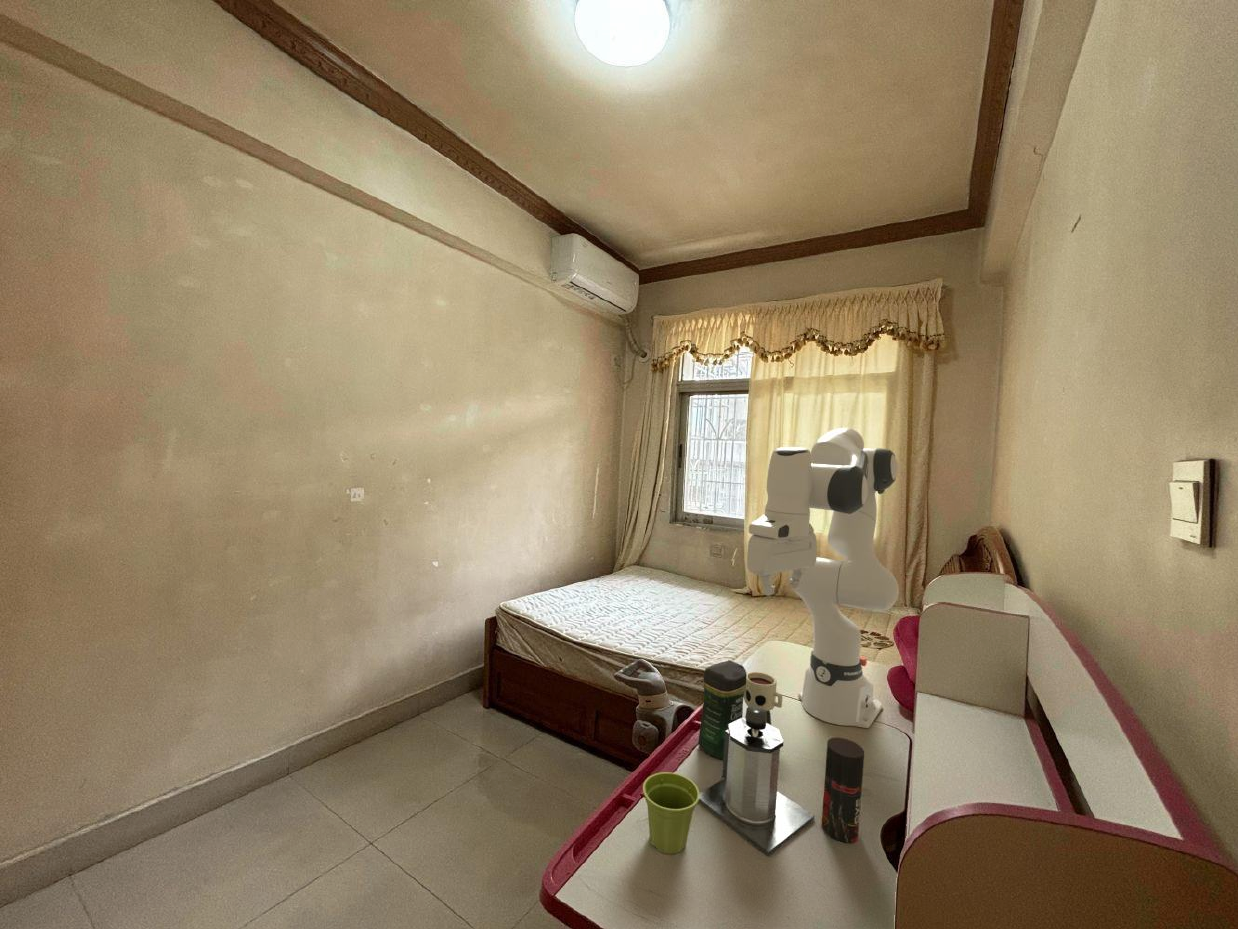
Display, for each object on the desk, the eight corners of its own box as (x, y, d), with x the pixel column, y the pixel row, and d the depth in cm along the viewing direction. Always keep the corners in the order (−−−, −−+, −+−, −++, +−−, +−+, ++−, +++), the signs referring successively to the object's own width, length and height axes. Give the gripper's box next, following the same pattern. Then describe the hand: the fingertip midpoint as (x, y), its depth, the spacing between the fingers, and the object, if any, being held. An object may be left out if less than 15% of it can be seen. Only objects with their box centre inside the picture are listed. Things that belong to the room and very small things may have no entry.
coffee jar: (721, 765, 105) (727, 678, 104) (692, 747, 111) (697, 664, 110) (748, 748, 112) (753, 666, 111) (719, 732, 117) (724, 653, 117)
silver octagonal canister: (741, 772, 103) (746, 701, 103) (813, 820, 91) (819, 740, 90) (695, 799, 94) (699, 722, 94) (768, 856, 82) (774, 768, 81)
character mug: (728, 728, 119) (732, 674, 118) (743, 717, 124) (747, 666, 124) (772, 749, 112) (776, 692, 111) (785, 736, 117) (789, 681, 116)
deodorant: (855, 849, 84) (862, 762, 84) (818, 833, 88) (824, 749, 87) (860, 827, 89) (866, 745, 89) (824, 813, 93) (830, 733, 92)
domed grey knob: (749, 775, 94) (754, 704, 94) (766, 786, 91) (771, 713, 91) (737, 783, 92) (742, 709, 91) (754, 794, 89) (759, 719, 89)
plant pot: (639, 817, 89) (642, 769, 89) (693, 821, 89) (695, 773, 88) (640, 860, 80) (643, 807, 79) (699, 865, 79) (702, 812, 79)
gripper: (800, 520, 113) (796, 581, 113) (743, 525, 100) (739, 594, 101) (826, 524, 108) (822, 588, 109) (770, 530, 95) (766, 602, 96)
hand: (781, 591), depth 104 cm, fingers open, 8 cm apart
